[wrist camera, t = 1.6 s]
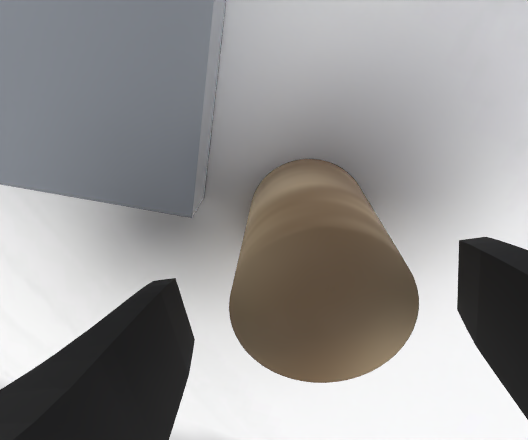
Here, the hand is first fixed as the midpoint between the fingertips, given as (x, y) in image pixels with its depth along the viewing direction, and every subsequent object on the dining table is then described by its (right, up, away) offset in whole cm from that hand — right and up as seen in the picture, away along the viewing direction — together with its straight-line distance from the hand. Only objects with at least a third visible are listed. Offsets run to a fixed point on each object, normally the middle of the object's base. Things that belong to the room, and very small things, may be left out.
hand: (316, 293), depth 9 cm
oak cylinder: (0, +2, +5) cm, 5 cm away
